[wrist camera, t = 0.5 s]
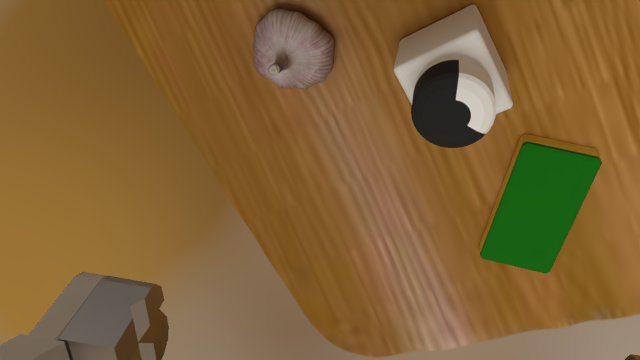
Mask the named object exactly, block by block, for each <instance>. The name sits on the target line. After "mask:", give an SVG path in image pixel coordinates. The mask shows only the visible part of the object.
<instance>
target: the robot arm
mask: <svg viewBox="0 0 640 360" xmlns="http://www.w3.org/2000/svg"><path fill="white" fill-rule="evenodd" d="M163 301H164V296H163V292H162V287H161V286H159V285H157V284H152V283H146V282H141V281H135V280H129V279H124V278H118V277H112V276H104V275H98V274H92V273H87V272H82V273H80V274H78V275H76V276H75V277H74V278H73V279H72V280H71V282H70V283H69V284H68V285H67V287H66V288H65V289H64V290H63V292H62V293H61V294H60V296H59V297H58V298H57V299H56V301H55V302H54V303H53V305H52V306H51V307H50V308H49V310H48V311H47V312H46V314H45V315H44V316H43V317H42V319H41V320H40V321H39V322H38V324H37V325H36V326H35V328H34V329H33V330H32V331H31V332H30V334H29V335H23V334H20V335H18V336H17V337H14V338H13V339H11V340H9V341H7V342H5V343H3V344H1V345H0V360H161V359H162V357H163V355H164V352H165V348H166V345H167V341H168V330H169V326H168V319H167V316H165V314H164V313H163V312H162V311H161V310H160V309H159V308H160V307H161V305H162V303H163ZM625 360H640V356H638V355H629V356H628V357H627V358H626V359H625Z"/></svg>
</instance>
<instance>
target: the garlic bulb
mask: <svg viewBox="0 0 640 360" xmlns="http://www.w3.org/2000/svg"><path fill="white" fill-rule="evenodd" d="M253 50H254V58H253V59H254V65H255V68H256V70H257V71H258V72H259V73H260V75H262V76H263V77H265V78H267V79H269V80H270V81H272V82H273V83H274V84H276V85H277V86H279V87H281V88H298V89H306V88H309V87H311V86H312V85H314V84H317V83H319V82H322V81H323V80H324V79H325V78H326V77H327V76H328V75H329V73H330V71H331V70H332V68H333V63H334V59H333V50H334V41H333V38H332V37H331V35H330V34H329V33H327V32H325V31H324V30H323V29H322V28H321V26H320V25H319V24H318V23H316V22H315V21H312V20H309V19H308V18H306V17H305V16H304V15H303V14H302V13H300V12H296V11H287V10H285V9H273V10H271V11H269V12H268V13H267V14H266V15H265V17H264V18H262V19H261V20H260V21H259V22H258V23H257V25H256V28H255V39H254V43H253Z"/></svg>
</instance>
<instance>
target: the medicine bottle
mask: <svg viewBox="0 0 640 360" xmlns="http://www.w3.org/2000/svg"><path fill="white" fill-rule="evenodd" d="M394 73H395V75H396V76H397V78H398V80H399V82H400V84H401V86H402V87H403V89H404V91H405V93H406V95H407V97H408V99H409V100H410V102H411V104H412V108H411V114H412V120H413V123H414V125H415V127H416V129H417V131H418V132H419V133H420V134H421V135H422V136H423V137H424V138H425V139H426V140H428V141H429V142H431V143H433V144H435V145H438V146H441V147H447V148H458V147H464V146H468V145H470V144H473V143H474V142H476V141H478V140H479V139H481V138H482V137H483V136H484V135H485V134H486V133H487V132H488V131H489V130H490V128H491V126H492V125H493V122H494V120H495V116H496V114H498V113H500V112H502V111H505V110H507V109H510V108H511V107H512V105H513V102H512V97H511V92H510V87H509V82H508V77H507V72H506V70H505V67H504V65H503V63H502V61H501V59H500V56H499V54H498V52H497V50H496V48H495V45H494V43H493V41H492V39H491V37H490V35H489V32H488V30H487V28H486V26H485V24H484V21H483V19H482V17H481V15H480V13H479V10H478V8H477V6H476V5H470V6H468V7H466V8H464V9H462V10H460V11H458V12H456V13H454V14H452V15H450V16H448V17H446V18H444V19H442V20H439V21H437V22H435V23H433V24H431V25H429V26H427V27H425V28H423V29H421V30H419V31H417V32H415V33H413V34H411V35H409V36H407V37H405V38H403V39H401V40H400V43H399V47H398V52H397V56H396V61H395V66H394Z"/></svg>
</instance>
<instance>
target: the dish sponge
mask: <svg viewBox="0 0 640 360" xmlns="http://www.w3.org/2000/svg"><path fill="white" fill-rule="evenodd" d="M601 164H602V162H601V160H600V157H599V155H598V152H597V151H596V149H594V148H590V147H585V146H580V145H576V144H571V143H566V142H562V141H557V140H552V139H548V138H543V137H538V136H534V135H529V134H524V135H522V136H521V137H520V139H519V142H518V145H517V147H516V150H515V152H514V155H513V158H512V160H511V163H510V166H509V168H508V171H507V174H506V176H505V179H504V181H503V184H502V187H501V189H500V192H499V195H498V197H497V200H496V202H495V205H494V208H493V210H492V213H491V216H490V218H489V221H488V224H487V226H486V229H485V231H484V234H483V237H482V239H481V242H480V252H481V253H480V256H481V257H482V258H483V259H486V260H491V261H495V262H499V263H503V264H508V265H512V266H516V267H520V268H525V269H529V270H533V271H538V272H542V273H548V272H550V270H551V268H552V266H553V264H554V262H555V260H556V258H557V256H558V254H559V252H560V249H561V247H562V245H563V243H564V241H565V239H566V237H567V235H568V233H569V231H570V229H571V226H572V224H573V222H574V220H575V218H576V216H577V214H578V212H579V210H580V208H581V206H582V203H583V201H584V199H585V197H586V195H587V193H588V191H589V189H590V187H591V185H592V183H593V180H594V178H595V176H596V174H597V172H598V170H599V168H600V166H601Z"/></svg>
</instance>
